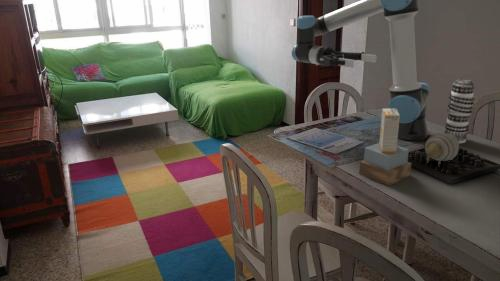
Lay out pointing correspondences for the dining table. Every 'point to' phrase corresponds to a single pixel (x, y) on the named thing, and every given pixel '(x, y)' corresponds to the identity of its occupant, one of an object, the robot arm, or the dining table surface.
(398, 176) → the tower base block
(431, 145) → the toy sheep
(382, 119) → the supplement box
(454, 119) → the decorative candle
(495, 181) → the dining table surface
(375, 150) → the tower top block
